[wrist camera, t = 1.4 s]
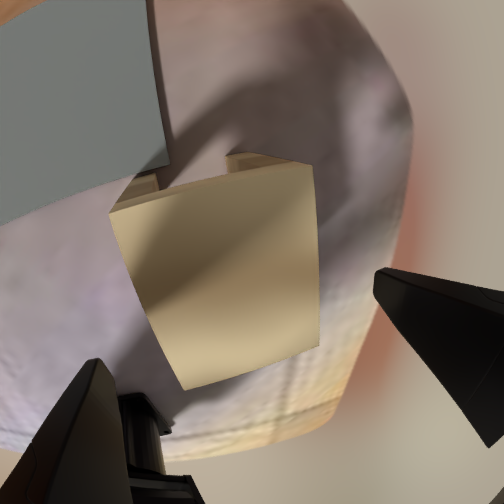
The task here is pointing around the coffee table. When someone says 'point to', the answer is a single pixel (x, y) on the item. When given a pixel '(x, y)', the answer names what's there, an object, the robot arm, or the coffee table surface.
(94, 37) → the felt pad
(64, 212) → the coffee table surface
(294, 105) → the coffee table surface
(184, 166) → the coffee table surface
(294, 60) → the coffee table surface
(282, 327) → the stool
